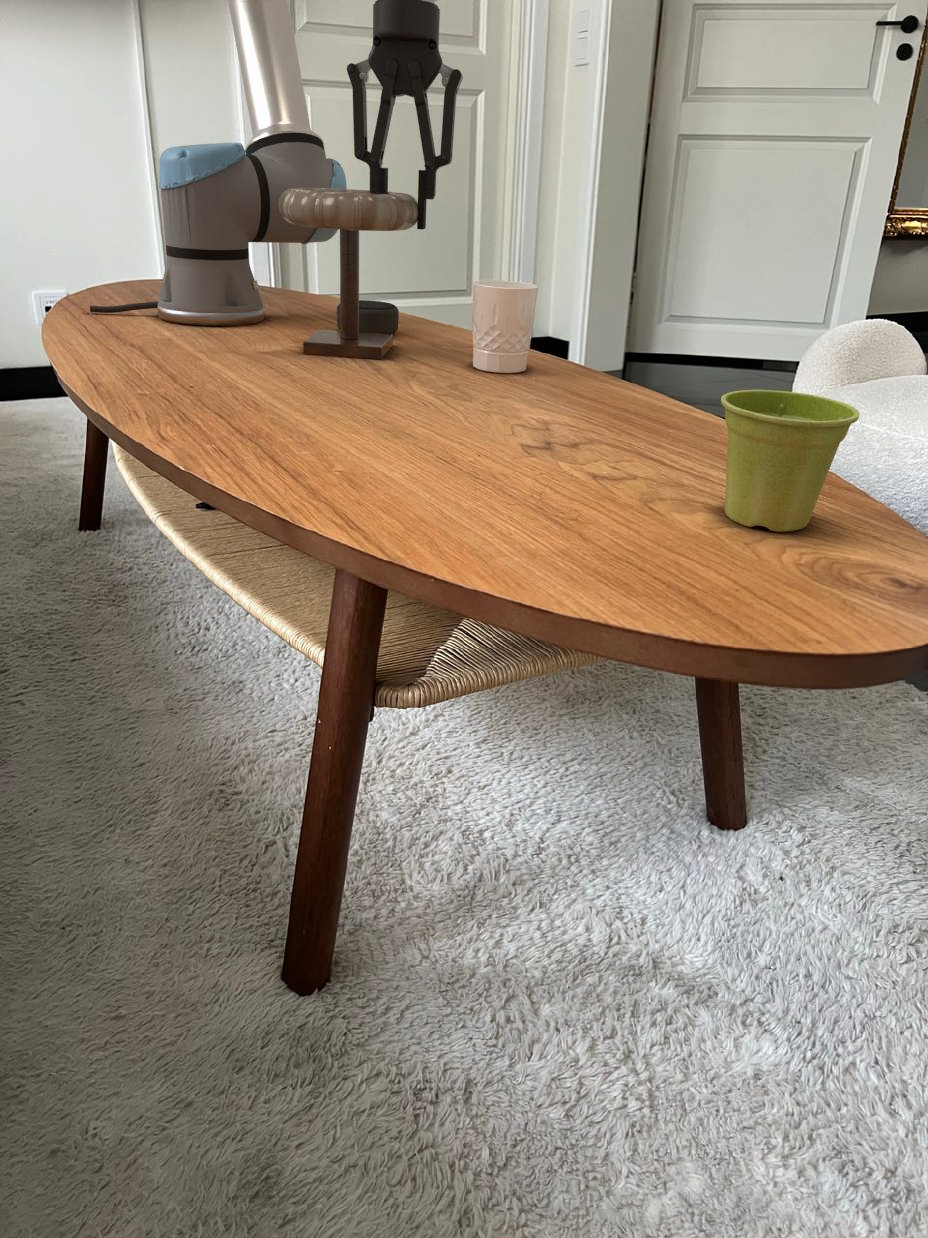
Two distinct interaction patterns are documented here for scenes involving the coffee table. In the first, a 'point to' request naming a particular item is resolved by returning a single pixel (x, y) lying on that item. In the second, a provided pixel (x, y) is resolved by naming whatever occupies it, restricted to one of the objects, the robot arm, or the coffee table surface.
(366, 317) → the smart speaker
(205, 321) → the robot arm
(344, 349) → the stand
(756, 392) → the plant pot
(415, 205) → the taupe ribbed ring
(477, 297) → the white cup
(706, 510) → the coffee table surface
